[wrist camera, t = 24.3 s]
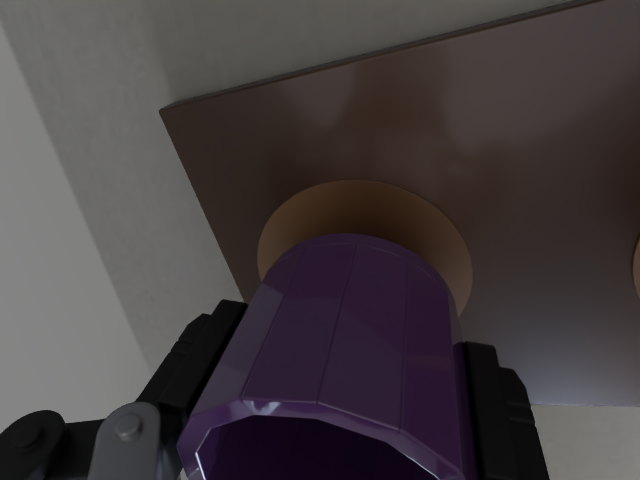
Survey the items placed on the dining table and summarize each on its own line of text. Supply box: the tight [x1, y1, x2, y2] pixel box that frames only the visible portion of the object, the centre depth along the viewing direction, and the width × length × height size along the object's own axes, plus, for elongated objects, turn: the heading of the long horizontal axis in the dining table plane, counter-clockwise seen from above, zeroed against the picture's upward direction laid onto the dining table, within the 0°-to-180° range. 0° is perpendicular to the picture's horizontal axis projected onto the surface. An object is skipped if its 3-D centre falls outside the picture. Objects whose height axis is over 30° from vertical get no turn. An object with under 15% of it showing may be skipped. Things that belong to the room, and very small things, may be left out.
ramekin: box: [176, 233, 479, 480], centre depth 10 cm, size 6×6×5 cm
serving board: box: [159, 0, 640, 407], centre depth 13 cm, size 22×14×1 cm, turn 105°
